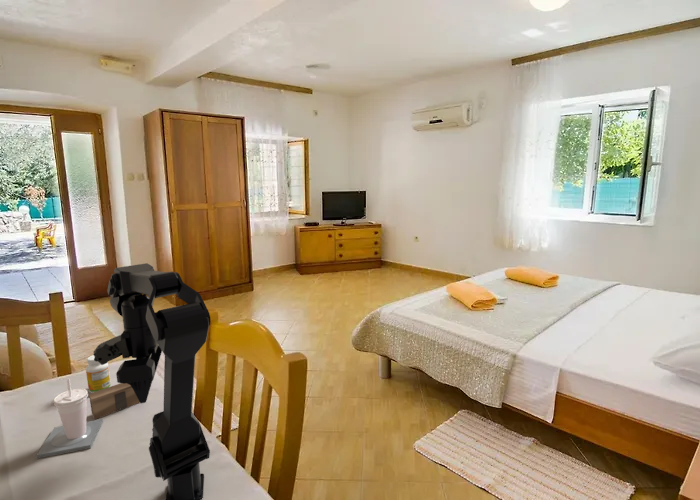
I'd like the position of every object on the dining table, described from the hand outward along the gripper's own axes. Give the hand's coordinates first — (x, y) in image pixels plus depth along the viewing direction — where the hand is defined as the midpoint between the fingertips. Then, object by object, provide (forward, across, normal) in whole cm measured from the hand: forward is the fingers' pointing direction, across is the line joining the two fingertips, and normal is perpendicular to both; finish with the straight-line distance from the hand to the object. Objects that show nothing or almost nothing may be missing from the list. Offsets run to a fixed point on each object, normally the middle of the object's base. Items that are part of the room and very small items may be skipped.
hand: (146, 391), depth 86 cm
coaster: (+13, -8, -18) cm, 24 cm away
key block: (+13, -19, -10) cm, 25 cm away
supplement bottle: (+13, -31, -18) cm, 38 cm away
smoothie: (+12, -8, -17) cm, 23 cm away
